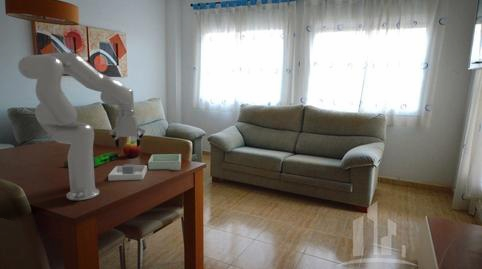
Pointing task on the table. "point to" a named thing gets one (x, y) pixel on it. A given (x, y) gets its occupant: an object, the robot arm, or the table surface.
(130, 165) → the stone block
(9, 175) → the table surface
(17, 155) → the table surface
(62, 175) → the table surface
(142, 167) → the tub
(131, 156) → the fruit
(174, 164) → the bin
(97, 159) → the submachine gun
